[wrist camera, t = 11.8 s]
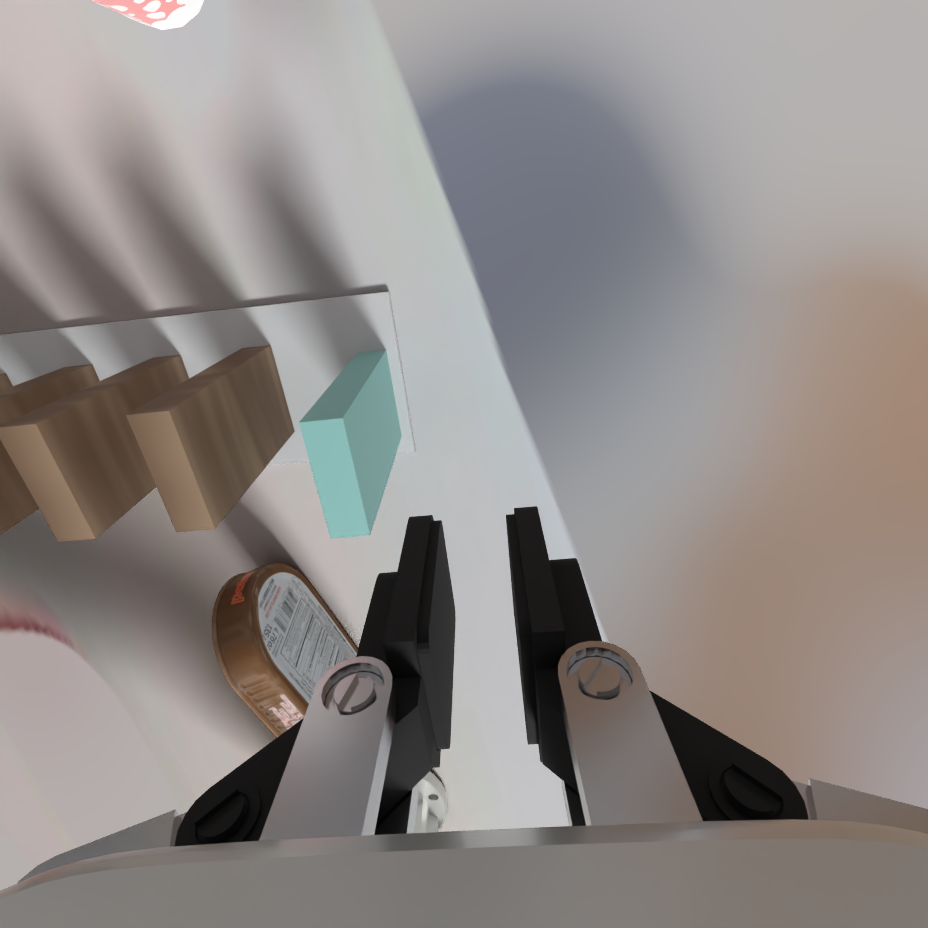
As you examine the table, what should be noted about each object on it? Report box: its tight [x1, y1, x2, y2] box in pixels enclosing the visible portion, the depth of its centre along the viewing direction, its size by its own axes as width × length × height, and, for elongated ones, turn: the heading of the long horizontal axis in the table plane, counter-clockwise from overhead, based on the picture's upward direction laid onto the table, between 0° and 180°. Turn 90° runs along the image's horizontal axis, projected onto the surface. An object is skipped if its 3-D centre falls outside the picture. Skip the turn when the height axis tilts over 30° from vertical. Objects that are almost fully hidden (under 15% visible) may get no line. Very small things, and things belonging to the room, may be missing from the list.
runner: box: [0, 291, 415, 466], centre depth 28 cm, size 30×9×1 cm, turn 96°
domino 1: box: [0, 364, 100, 534], centre depth 24 cm, size 2×5×10 cm, turn 6°
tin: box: [212, 563, 358, 738], centre depth 32 cm, size 15×3×8 cm, turn 24°
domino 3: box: [126, 345, 295, 532], centre depth 23 cm, size 2×5×10 cm, turn 6°
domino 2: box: [0, 355, 189, 542], centre depth 24 cm, size 2×5×10 cm, turn 6°
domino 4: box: [299, 350, 402, 538], centre depth 23 cm, size 2×5×10 cm, turn 6°
